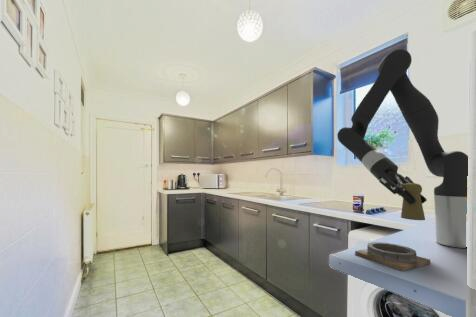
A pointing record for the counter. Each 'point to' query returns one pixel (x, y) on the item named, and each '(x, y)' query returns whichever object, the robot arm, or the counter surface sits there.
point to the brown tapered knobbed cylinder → (414, 209)
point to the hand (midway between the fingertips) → (418, 202)
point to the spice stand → (392, 255)
